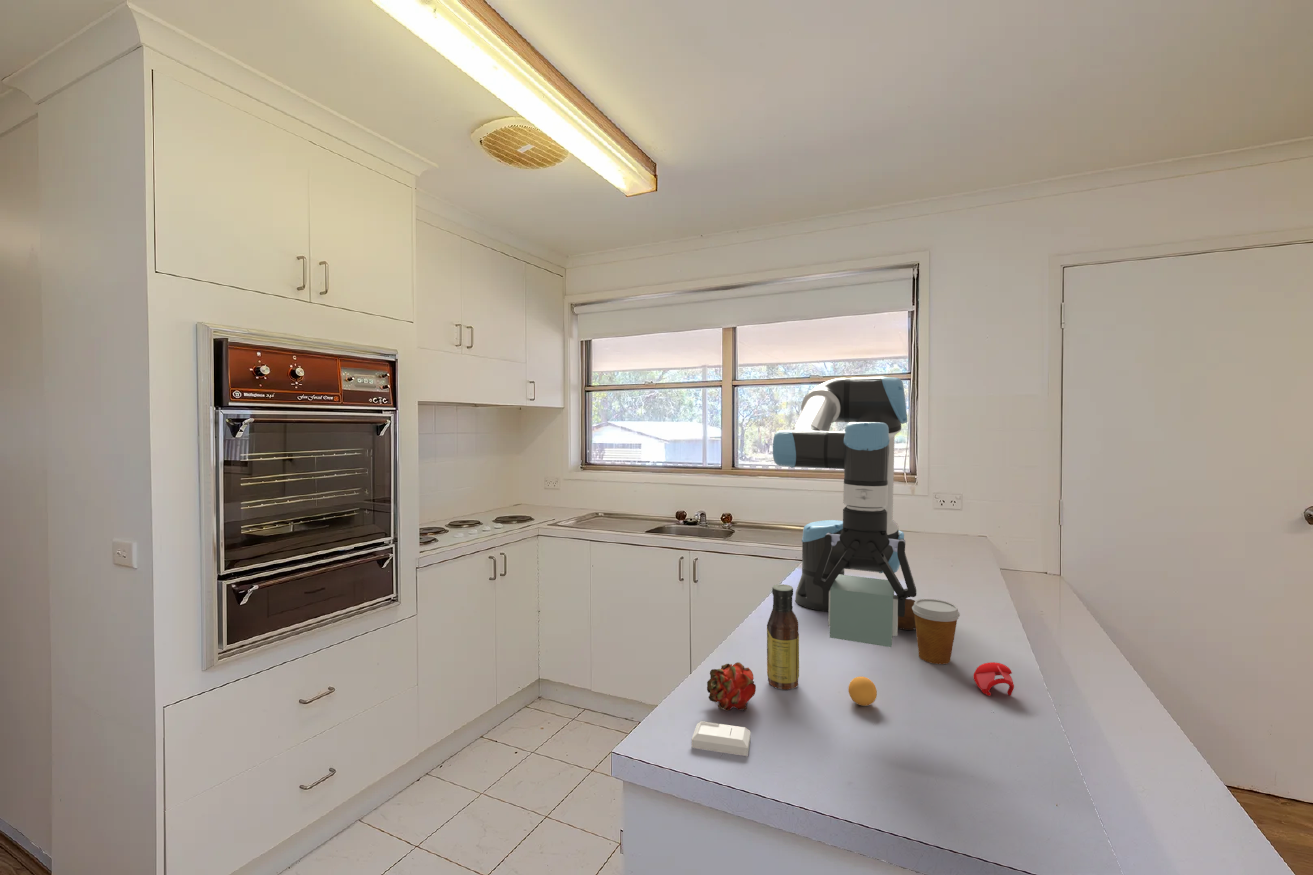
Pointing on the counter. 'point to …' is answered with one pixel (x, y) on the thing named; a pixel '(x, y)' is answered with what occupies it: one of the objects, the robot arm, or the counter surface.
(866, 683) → the ball
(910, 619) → the potato
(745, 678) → the dragon fruit
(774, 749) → the counter surface
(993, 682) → the red curved piece
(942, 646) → the disposable coffee cup
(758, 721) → the counter surface
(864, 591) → the sage green cube
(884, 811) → the counter surface
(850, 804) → the counter surface
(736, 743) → the soap bar
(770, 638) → the sauce bottle
